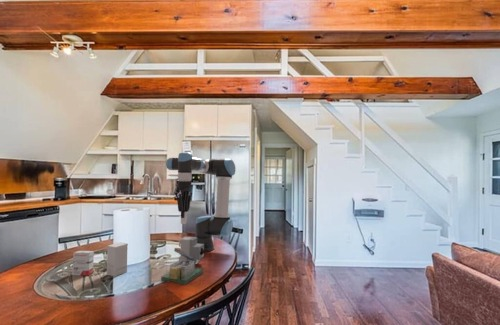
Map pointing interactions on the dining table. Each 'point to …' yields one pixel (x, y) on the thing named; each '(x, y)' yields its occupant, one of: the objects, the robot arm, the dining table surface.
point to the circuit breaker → (191, 248)
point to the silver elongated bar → (183, 254)
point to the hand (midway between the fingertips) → (183, 223)
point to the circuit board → (182, 272)
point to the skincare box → (117, 259)
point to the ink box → (83, 263)
